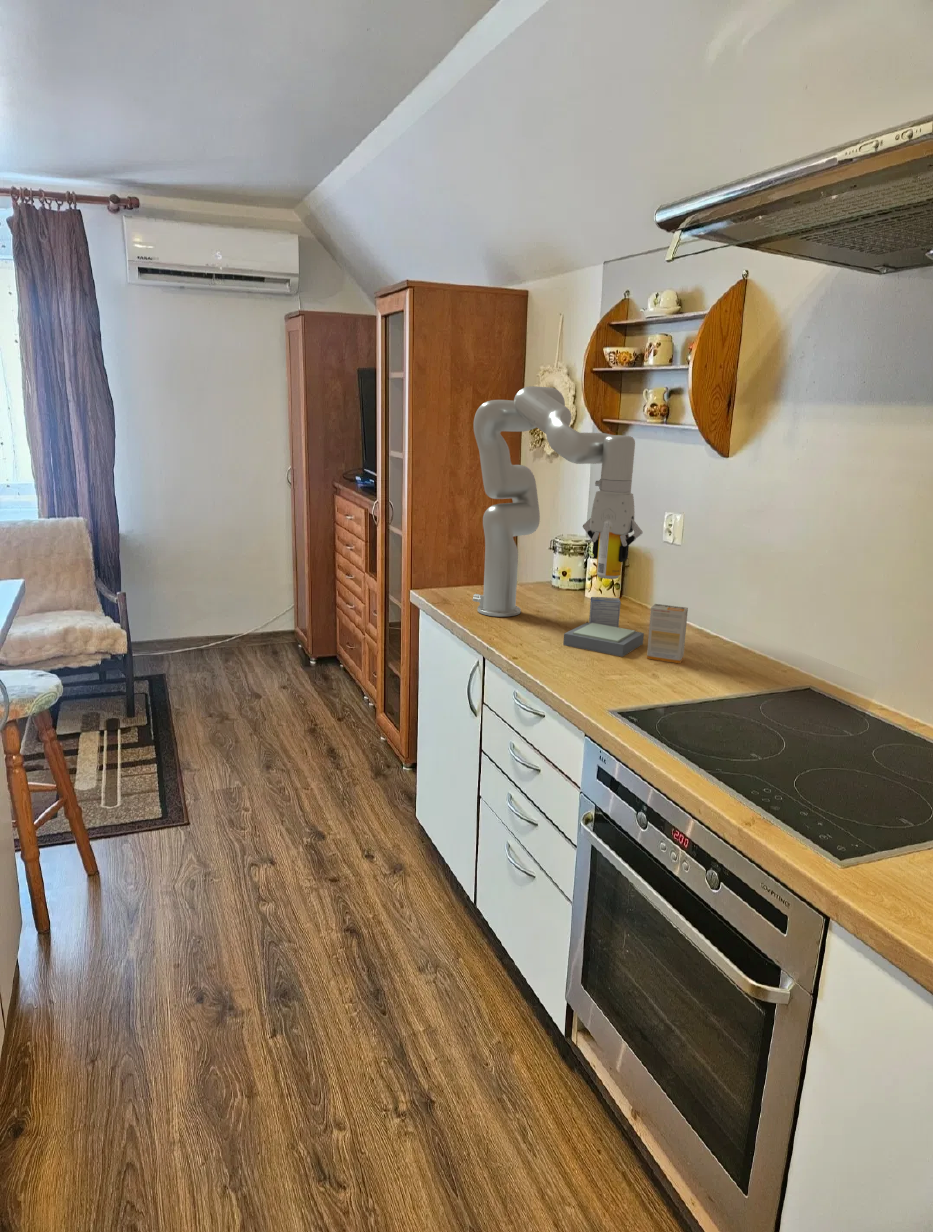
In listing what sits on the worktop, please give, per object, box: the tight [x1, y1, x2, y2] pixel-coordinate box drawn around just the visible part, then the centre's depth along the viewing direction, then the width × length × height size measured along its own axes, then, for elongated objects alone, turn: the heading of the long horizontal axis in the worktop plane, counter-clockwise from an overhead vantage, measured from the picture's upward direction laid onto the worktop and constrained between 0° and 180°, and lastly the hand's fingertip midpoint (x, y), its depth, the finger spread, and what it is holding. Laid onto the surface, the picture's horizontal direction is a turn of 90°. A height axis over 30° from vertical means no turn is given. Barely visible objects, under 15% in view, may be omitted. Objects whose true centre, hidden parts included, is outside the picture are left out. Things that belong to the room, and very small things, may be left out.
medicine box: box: [588, 596, 622, 628], centre depth 223 cm, size 8×4×9 cm, turn 84°
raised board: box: [562, 622, 645, 658], centre depth 209 cm, size 16×14×4 cm
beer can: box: [595, 520, 623, 580], centre depth 203 cm, size 6×6×15 cm
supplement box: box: [646, 603, 689, 664], centre depth 197 cm, size 8×5×13 cm, turn 65°
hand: (609, 558), depth 204 cm, fingers closed on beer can, 6 cm apart
